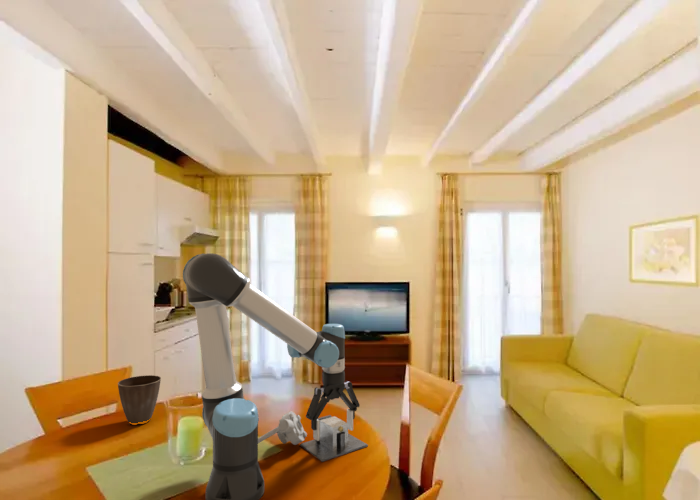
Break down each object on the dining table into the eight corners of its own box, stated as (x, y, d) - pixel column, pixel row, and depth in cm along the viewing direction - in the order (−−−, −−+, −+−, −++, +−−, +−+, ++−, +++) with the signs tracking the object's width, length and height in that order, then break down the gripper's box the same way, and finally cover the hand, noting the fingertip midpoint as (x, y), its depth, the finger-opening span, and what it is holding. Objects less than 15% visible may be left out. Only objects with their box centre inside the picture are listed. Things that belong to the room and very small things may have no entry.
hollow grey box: (333, 451, 133) (333, 428, 134) (319, 442, 140) (319, 420, 140) (349, 446, 137) (348, 423, 137) (334, 437, 144) (334, 416, 144)
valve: (310, 439, 142) (293, 437, 129) (266, 466, 142) (244, 465, 129) (300, 411, 147) (282, 406, 134) (256, 436, 147) (235, 433, 134)
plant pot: (107, 427, 155) (108, 384, 156) (138, 413, 169) (139, 373, 170) (139, 431, 151) (140, 387, 151) (169, 417, 165) (169, 376, 165)
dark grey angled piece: (322, 461, 128) (322, 437, 128) (299, 445, 139) (300, 422, 139) (367, 446, 139) (367, 423, 139) (343, 432, 150) (343, 411, 150)
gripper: (307, 379, 129) (307, 448, 129) (369, 367, 144) (369, 428, 143) (295, 374, 135) (295, 439, 135) (356, 362, 150) (356, 421, 149)
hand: (333, 434), depth 139 cm, fingers open, 13 cm apart
